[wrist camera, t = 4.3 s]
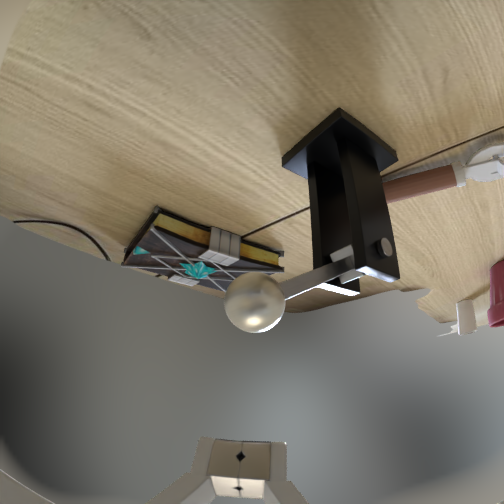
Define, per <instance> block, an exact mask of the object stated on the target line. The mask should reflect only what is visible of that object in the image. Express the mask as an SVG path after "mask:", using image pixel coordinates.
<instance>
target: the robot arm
mask: <svg viewBox="0 0 504 504" xmlns="http://www.w3.org/2000/svg"><path fill="white" fill-rule="evenodd" d="M286 448H287V447H286V442H260V441H236V440H225V439H216V438H208V437H200V439H199V441H198V445H197V449H196V453H195V456H194V460H193V464H192V468H191V472H190V473H185V474H184V475H183V476H181V477H180V478H179V479H178V480H176V481H175V482H174V483H172V484H171V485H170V486H169V487H167V488H166V489H165V490H163V491H162V492H161V493H159V494H158V495H157V496H155V497H154V498H153V499H151V500H150V501H148V502H147V503H145V504H210V503H211V501H213V499H214V498H215V497H216V496H227V497H241V498H252V499H263V501H264V502H265V504H309V503H308V502H307V501H306V499H305V498H304V497H303V496H302V495H301V493H300V492H299V491H298V490H297V488H296V487H295V486H294V485H293V483H292V482H291V481H286V473H287V472H286V470H287V467H286V466H287V465H286V462H287V459H286V458H287V455H286V454H287V449H286ZM0 504H55V503H53V502H51V501H49V500H47V499H46V498H44V497H42V496H40V495H39V494H37V493H35V492H34V491H32V490H30V489H29V488H27V487H26V486H24V485H22V484H21V483H20V482H18V481H16V480H15V479H14V478H12V477H11V476H9V475H8V474H6V473H5V472H4V471H2V470H1V469H0ZM497 504H504V500H502V501H500V502H499V503H497Z"/></svg>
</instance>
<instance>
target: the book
mask: <svg viewBox="0 0 504 504" xmlns="http://www.w3.org/2000/svg"><path fill="white" fill-rule="evenodd" d="M124 253H125V256H124V262H122V263H121V267H131V268H139V269H142V270H146V271H150V272H154V273H157V274H161V275H165V276H168V280H170V281H174V282H178V283H181V284H185V285H189V286H193V285H195V284H197V285H201V286H205V287H209V288H213V289H216V290H220V291H224V292H225V293H226V291H227V289H228V287H229V285H230V284H231V282H232V281H233V280H234V279H236V278H237V277H239V276H240V275H242V274H245V273H249V272H261V273H265V274H267V275H271V274H274V273H284V267H280V266H279V265H278V258H279V257H280V256H281V257H284V251H273V250H270V249H267V248H264V247H261V246H258V245H255V244H252V243H249V242H246V241H243V240H241V236H238V235H235V234H232V233H230V232H227V231H224V230H221V229H218V228H216V227H213V226H212V227H210V228H209V229H207V228H205V227H202V226H199V225H196V224H193V223H191V222H188V221H186V220H183V219H181V218H178V217H176V216H173V215H171V214H168V213H166V212H163V211H162V210H161V209H160V208H159V207H158V206H156V207H155V209H154V212H153V213H152V215H151V216H150V218H149V219H148V220H147V222H146V223H145V225H144V226H143V228H142V229H141V230H140V232H139V233H138V235H137V236H136V237H135V239H134V240H133V242H132V243H131V244H130V246H129V247H128V248H125V249H124Z"/></svg>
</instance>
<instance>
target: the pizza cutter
mask: <svg viewBox="0 0 504 504" xmlns="http://www.w3.org/2000/svg"><path fill="white" fill-rule="evenodd" d="M492 156H493V159H492V160H489V159H490V158H491V157H492ZM503 156H504V142H501V143H495V144H490V145H488V146H485V147H483V148H481V149H479V150H478V151H477V152H476V153H474V154H473V155H472V156H471V157H470V159H469V160H468V162H467V163H466V166H463V167H462V165H461V163H460V161H458V162H454V163H450V165H447V166H443V167H439V168H435V169H431V170H428V171H424V172H420V173H416V174H412V175H409V176H405V177H401V178H398V179H394V180H390V181H387V182H383V183H382V185H383V189H384V193H385V197H386V202H387V204H388V203H392V202H396V201H400V200H404V199H407V198H411V197H415V196H419V195H423V194H427V193H431V192H435V191H439V190H443V189H447V188H451V187H455V186H457V187H460V186H464V185H466V179H468V178H471V179H473V180H475V181H480V182H488V181H493V180H497V179H500V178H503V177H504V163H503V162H501V161H500V160H499V159H498V158H500V157H503Z"/></svg>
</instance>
